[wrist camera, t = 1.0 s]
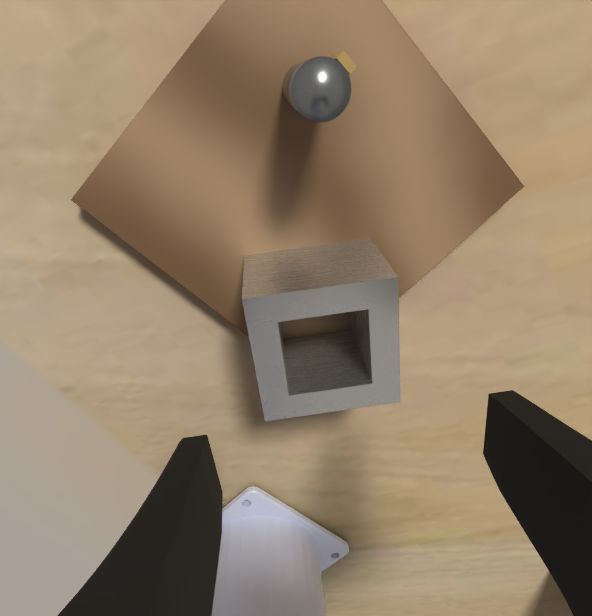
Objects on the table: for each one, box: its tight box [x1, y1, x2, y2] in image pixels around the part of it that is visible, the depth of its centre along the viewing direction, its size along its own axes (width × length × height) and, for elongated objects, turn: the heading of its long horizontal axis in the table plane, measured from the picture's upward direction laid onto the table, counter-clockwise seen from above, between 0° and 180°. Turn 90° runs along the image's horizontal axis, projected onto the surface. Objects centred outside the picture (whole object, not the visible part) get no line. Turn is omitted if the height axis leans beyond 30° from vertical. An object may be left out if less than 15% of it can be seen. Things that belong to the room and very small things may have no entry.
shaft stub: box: [282, 50, 357, 122], centre depth 13 cm, size 2×2×4 cm
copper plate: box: [71, 0, 524, 339], centre depth 18 cm, size 12×12×1 cm
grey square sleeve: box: [242, 238, 400, 421], centre depth 17 cm, size 5×5×4 cm
